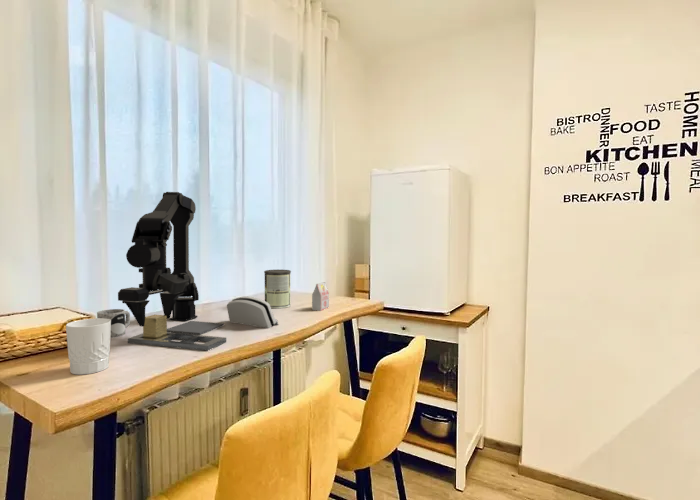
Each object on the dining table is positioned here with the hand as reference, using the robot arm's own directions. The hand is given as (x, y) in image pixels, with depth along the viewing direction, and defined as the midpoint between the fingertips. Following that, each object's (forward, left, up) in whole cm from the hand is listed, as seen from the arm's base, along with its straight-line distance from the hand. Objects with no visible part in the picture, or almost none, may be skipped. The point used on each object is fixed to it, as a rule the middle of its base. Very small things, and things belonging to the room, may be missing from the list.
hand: (155, 322), depth 104 cm
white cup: (+3, -22, -5) cm, 23 cm away
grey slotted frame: (+7, 0, -5) cm, 8 cm away
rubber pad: (+2, +14, -5) cm, 15 cm away
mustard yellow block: (0, 0, -5) cm, 5 cm away
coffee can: (+10, +54, -5) cm, 55 cm away
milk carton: (+28, +54, -5) cm, 61 cm away
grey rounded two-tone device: (+15, +24, -5) cm, 29 cm away
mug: (-16, +3, -5) cm, 17 cm away
